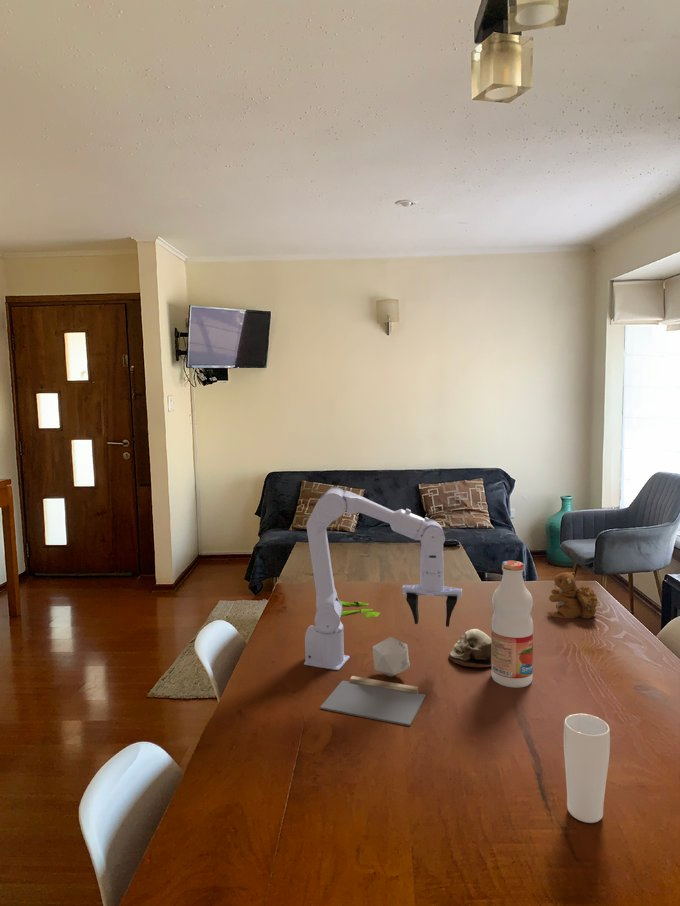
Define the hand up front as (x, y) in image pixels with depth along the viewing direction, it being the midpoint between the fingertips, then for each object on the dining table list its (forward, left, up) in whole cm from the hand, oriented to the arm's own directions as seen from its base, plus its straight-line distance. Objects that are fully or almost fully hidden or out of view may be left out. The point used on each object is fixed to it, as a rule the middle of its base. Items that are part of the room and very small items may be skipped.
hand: (432, 624), depth 150 cm
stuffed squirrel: (+32, +46, -11) cm, 57 cm away
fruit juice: (+19, -2, -10) cm, 22 cm away
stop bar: (-8, -16, -10) cm, 20 cm away
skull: (+10, +2, -12) cm, 16 cm away
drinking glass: (+35, -45, -10) cm, 58 cm away
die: (-8, -10, -11) cm, 17 cm away
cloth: (-33, +29, -11) cm, 46 cm away
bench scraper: (-8, -23, -10) cm, 26 cm away
